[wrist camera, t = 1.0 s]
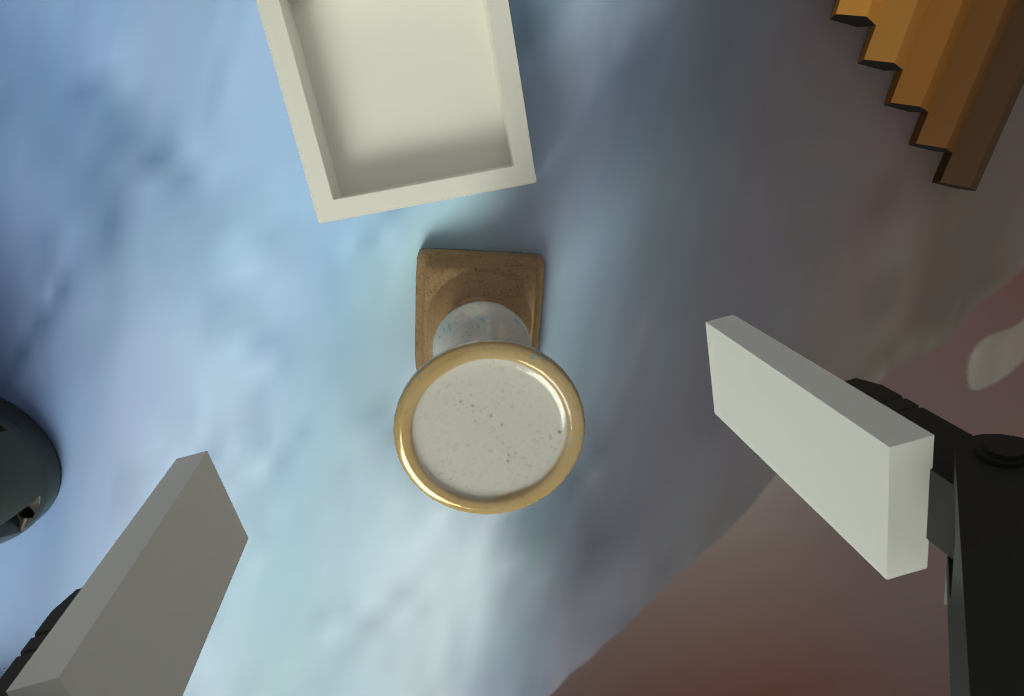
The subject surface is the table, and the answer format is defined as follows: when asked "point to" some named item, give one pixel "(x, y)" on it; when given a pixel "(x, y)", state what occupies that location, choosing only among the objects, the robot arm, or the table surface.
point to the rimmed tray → (400, 100)
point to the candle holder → (485, 386)
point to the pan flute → (947, 72)
